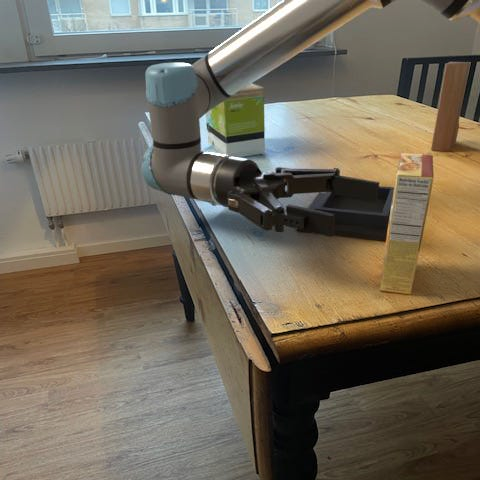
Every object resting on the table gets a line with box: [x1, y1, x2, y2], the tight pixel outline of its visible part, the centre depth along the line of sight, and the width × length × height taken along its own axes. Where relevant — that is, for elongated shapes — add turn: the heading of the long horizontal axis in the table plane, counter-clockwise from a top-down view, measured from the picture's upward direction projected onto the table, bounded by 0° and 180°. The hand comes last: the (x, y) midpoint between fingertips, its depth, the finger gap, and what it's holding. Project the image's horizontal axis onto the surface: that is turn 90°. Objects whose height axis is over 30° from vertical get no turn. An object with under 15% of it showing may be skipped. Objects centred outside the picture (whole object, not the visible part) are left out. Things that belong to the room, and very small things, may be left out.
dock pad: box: [295, 185, 394, 242], centre depth 84 cm, size 16×16×3 cm
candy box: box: [379, 152, 435, 295], centre depth 63 cm, size 9×4×15 cm, turn 163°
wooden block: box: [430, 61, 471, 153], centre depth 113 cm, size 9×4×18 cm, turn 154°
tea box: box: [205, 82, 266, 158], centre depth 118 cm, size 15×10×15 cm, turn 21°
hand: (356, 207), depth 66 cm, fingers open, 13 cm apart
